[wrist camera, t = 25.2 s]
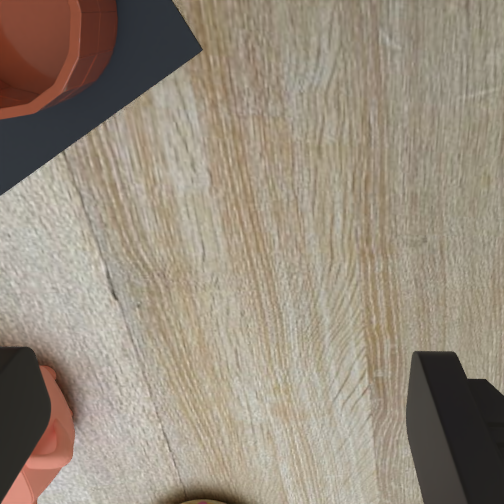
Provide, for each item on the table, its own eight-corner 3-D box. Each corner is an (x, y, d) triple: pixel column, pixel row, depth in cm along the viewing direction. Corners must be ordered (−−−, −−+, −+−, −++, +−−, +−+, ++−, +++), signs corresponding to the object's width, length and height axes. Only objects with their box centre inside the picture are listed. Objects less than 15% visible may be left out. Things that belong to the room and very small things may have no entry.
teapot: (125, 404, 46) (84, 501, 37) (61, 462, 50) (10, 561, 41) (-5, 315, 42) (-86, 399, 33) (-62, 386, 47) (-147, 477, 38)
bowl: (31, -147, 27) (-34, -185, 21) (153, 39, 31) (123, 46, 25) (-94, -23, 30) (-177, -29, 25) (30, 130, 34) (-19, 153, 29)
